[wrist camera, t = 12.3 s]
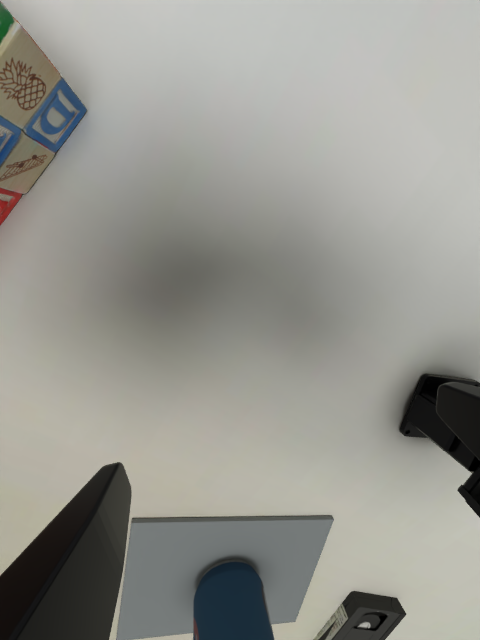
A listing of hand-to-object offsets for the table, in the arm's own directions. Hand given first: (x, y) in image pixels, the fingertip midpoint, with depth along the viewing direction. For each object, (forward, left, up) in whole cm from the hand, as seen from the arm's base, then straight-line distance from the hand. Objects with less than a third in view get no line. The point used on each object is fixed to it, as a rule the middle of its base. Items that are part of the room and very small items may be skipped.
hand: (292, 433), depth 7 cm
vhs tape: (-23, +40, -14) cm, 48 cm away
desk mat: (-5, +28, -13) cm, 31 cm away
